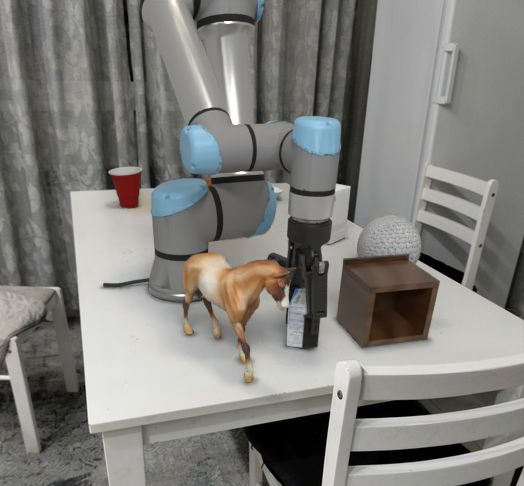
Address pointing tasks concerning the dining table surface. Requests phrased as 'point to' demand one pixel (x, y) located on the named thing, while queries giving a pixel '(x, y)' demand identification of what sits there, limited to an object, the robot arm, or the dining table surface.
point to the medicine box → (296, 318)
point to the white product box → (340, 213)
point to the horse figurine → (233, 292)
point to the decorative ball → (389, 238)
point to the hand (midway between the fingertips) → (300, 334)
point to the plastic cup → (127, 185)
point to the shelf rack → (386, 300)
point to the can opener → (281, 262)
